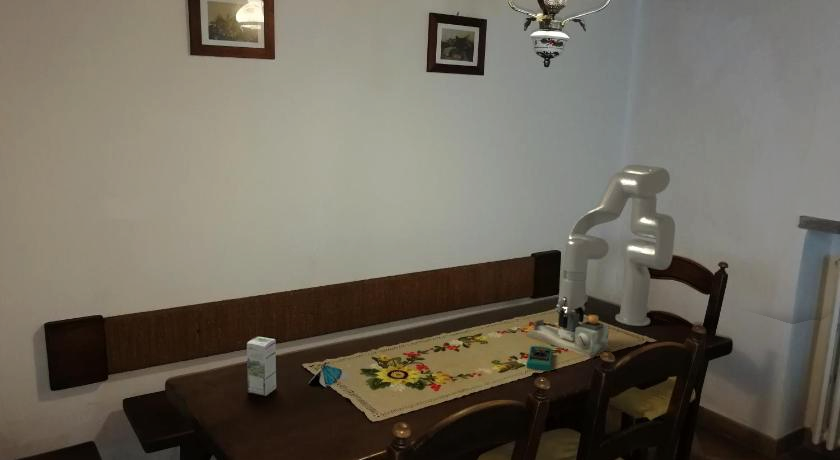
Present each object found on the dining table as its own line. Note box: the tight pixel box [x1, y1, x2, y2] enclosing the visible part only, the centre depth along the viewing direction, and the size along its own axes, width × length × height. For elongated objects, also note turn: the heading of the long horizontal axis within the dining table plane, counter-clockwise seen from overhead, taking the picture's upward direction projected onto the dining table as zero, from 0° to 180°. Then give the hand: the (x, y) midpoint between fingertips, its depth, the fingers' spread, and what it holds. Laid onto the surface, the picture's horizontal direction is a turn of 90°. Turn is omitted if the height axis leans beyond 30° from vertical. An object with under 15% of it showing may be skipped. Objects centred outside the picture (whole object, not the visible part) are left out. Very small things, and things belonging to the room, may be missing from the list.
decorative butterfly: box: [308, 357, 349, 388], centre depth 186 cm, size 10×6×10 cm
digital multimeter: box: [526, 345, 554, 372], centre depth 206 cm, size 7×15×3 cm, turn 166°
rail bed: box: [526, 318, 610, 358], centre depth 223 cm, size 12×25×9 cm, turn 44°
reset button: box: [587, 314, 599, 324], centre depth 215 cm, size 3×3×2 cm
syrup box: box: [246, 336, 277, 397], centre depth 177 cm, size 6×6×14 cm
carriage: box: [558, 310, 580, 341], centre depth 222 cm, size 7×5×9 cm
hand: (570, 324), depth 222 cm, fingers open, 9 cm apart
